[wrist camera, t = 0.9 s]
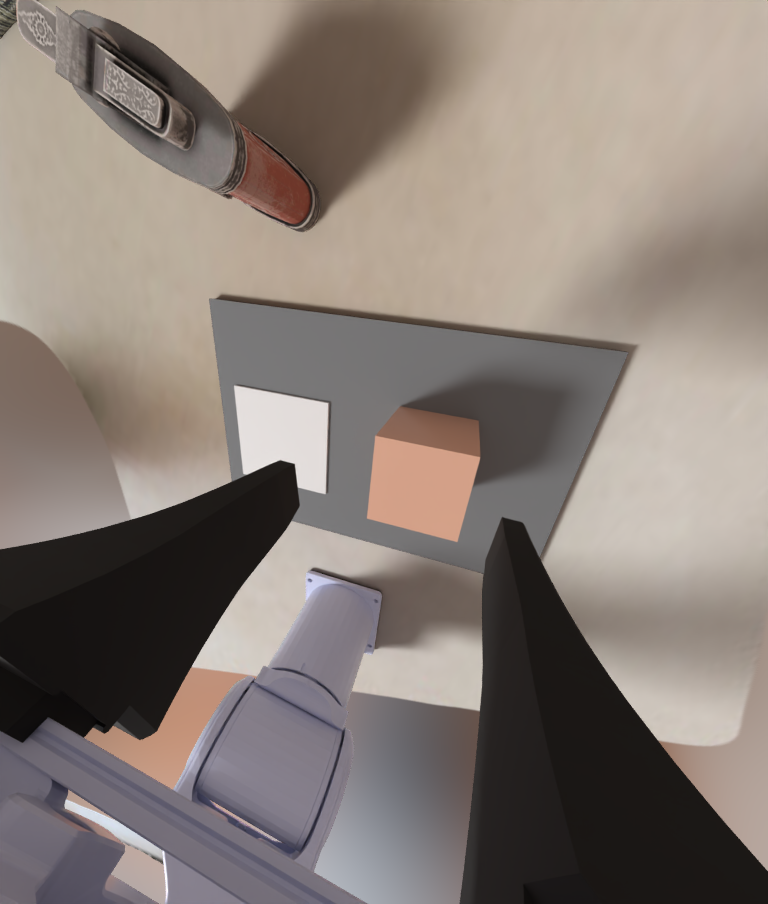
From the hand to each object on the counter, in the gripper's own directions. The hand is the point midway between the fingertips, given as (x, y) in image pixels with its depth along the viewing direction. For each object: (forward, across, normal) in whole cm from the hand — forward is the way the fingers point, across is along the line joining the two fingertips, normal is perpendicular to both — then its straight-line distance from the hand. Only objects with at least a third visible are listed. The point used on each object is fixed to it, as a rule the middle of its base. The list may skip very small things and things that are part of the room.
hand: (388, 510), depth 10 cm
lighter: (+14, +13, -11) cm, 22 cm away
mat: (+12, +4, +5) cm, 13 cm away
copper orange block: (+11, 0, +4) cm, 12 cm away
